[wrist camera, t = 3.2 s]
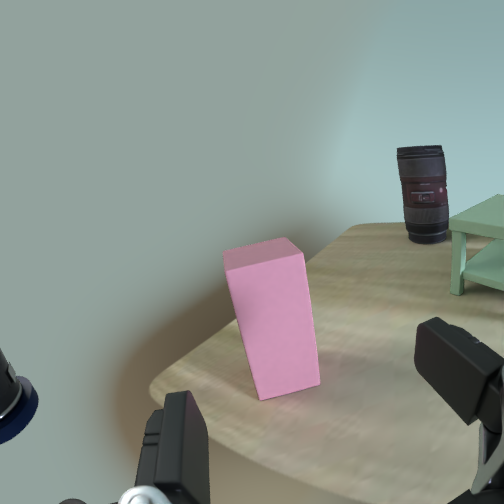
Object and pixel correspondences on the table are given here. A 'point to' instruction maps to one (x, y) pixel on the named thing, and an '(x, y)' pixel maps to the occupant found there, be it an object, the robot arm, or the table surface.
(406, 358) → the table surface
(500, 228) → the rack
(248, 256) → the pink box
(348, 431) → the table surface
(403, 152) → the camera lens
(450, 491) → the table surface
